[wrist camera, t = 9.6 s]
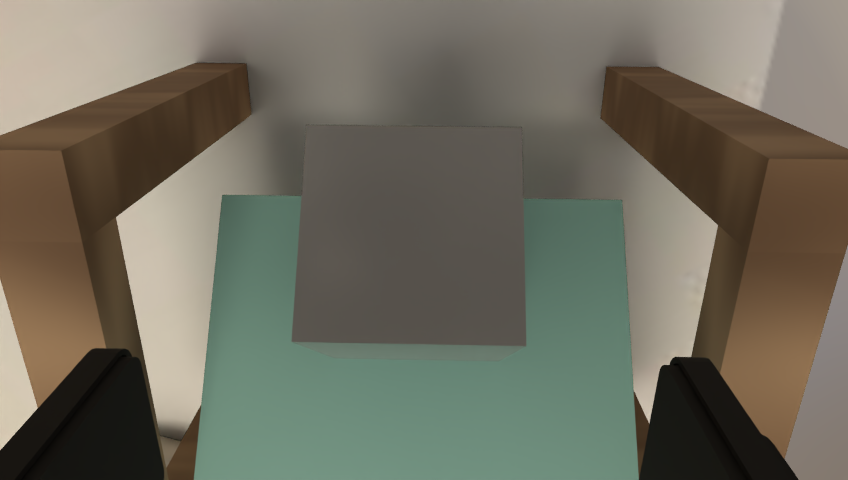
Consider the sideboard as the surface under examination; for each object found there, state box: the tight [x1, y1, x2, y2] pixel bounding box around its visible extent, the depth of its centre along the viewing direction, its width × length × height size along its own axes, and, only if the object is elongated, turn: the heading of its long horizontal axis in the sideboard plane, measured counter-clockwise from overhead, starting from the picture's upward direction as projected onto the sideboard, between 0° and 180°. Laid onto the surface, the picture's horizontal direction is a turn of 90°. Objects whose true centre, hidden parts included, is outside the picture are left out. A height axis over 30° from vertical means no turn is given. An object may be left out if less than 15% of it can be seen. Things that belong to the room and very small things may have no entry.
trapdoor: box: [194, 195, 639, 480], centre depth 19 cm, size 12×13×1 cm
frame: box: [0, 63, 848, 480], centre depth 21 cm, size 15×18×13 cm
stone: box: [291, 125, 526, 361], centre depth 17 cm, size 5×5×6 cm
